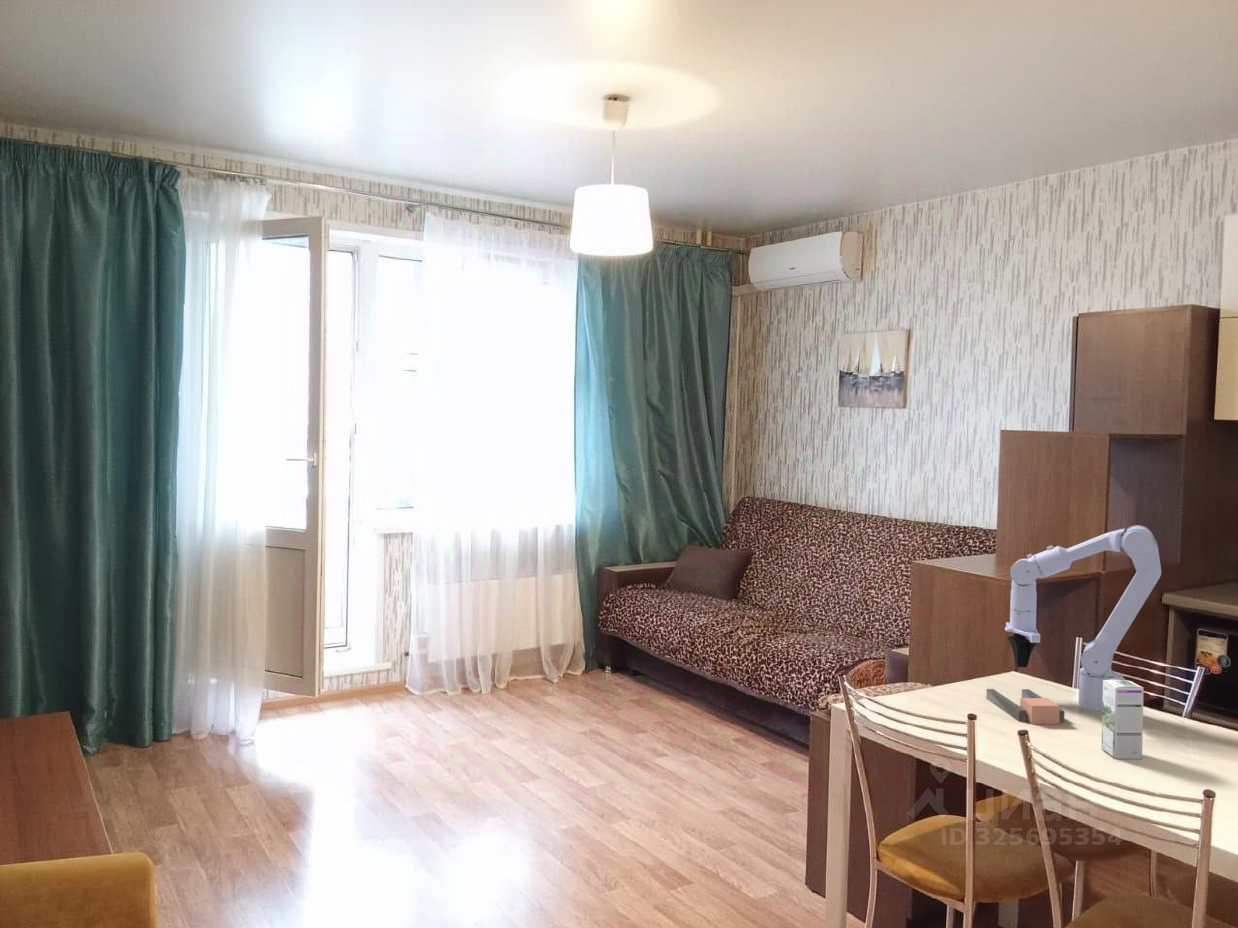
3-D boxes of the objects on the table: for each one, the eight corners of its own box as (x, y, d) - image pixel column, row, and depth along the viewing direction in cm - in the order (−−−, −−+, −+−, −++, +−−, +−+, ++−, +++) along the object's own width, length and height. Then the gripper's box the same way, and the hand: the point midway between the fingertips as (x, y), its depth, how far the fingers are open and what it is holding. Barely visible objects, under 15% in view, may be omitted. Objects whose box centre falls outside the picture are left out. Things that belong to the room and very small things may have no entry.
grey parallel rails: (1026, 700, 236) (1027, 685, 236) (1075, 731, 212) (1075, 715, 212) (977, 699, 236) (977, 685, 236) (1019, 730, 212) (1020, 714, 212)
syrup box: (1143, 759, 194) (1146, 686, 194) (1113, 759, 194) (1115, 686, 194) (1129, 750, 200) (1131, 679, 199) (1099, 749, 200) (1101, 678, 199)
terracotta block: (1046, 716, 219) (1047, 698, 219) (1059, 724, 213) (1059, 705, 213) (1019, 715, 219) (1020, 697, 219) (1031, 723, 213) (1032, 705, 213)
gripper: (994, 604, 241) (992, 659, 242) (1019, 615, 227) (1017, 673, 227) (1022, 604, 241) (1021, 659, 242) (1049, 615, 227) (1048, 674, 227)
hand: (1021, 666), depth 235 cm, fingers closed
